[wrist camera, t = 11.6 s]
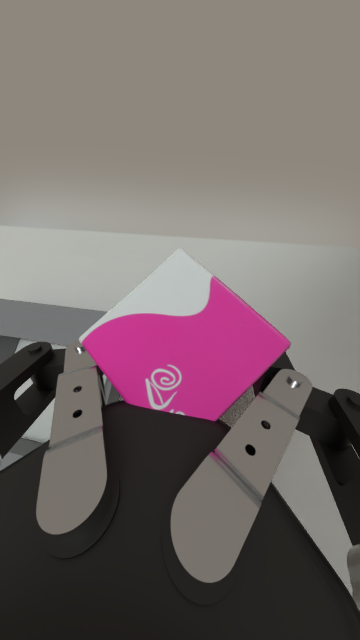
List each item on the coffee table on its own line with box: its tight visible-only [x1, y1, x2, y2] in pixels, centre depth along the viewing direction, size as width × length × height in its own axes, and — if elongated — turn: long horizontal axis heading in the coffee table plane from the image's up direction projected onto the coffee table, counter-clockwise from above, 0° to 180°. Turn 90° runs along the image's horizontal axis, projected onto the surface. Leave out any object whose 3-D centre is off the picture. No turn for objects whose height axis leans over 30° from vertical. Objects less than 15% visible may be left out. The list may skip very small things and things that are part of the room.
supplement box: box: [79, 247, 291, 421], centre depth 12 cm, size 6×6×11 cm
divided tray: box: [0, 299, 120, 471], centre depth 18 cm, size 16×18×3 cm
